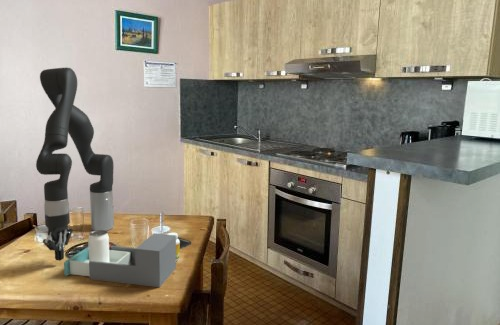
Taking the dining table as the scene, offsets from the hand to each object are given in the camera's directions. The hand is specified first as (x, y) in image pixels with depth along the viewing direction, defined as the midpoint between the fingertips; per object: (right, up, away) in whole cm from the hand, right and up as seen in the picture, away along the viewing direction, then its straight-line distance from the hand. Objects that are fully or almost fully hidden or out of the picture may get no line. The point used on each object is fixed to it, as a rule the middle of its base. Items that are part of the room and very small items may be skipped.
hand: (59, 259), depth 135 cm
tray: (+16, -3, -2) cm, 16 cm away
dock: (+27, -4, -4) cm, 28 cm away
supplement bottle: (+38, -2, +8) cm, 38 cm away
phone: (+34, 0, +25) cm, 42 cm away
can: (+15, -2, -3) cm, 15 cm away
